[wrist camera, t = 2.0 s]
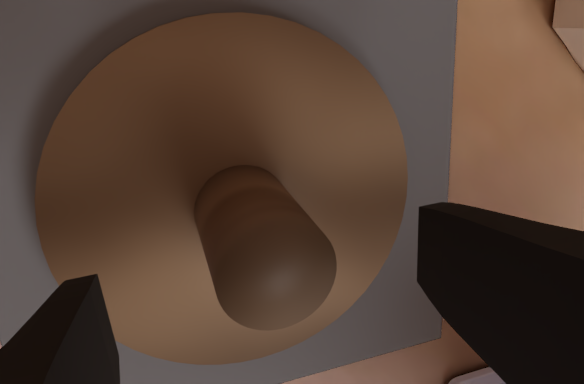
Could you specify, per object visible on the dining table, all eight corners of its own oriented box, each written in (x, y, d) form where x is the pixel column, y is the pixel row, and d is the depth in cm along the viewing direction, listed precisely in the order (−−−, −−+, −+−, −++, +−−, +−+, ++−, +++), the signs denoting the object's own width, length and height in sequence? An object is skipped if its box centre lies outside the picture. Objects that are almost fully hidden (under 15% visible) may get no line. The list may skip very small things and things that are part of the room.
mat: (435, 331, 20) (440, 338, 19) (44, 441, 16) (41, 450, 16) (453, -81, 14) (461, -84, 14) (-140, -55, 11) (-150, -57, 10)
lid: (397, 307, 18) (476, 395, 14) (92, 389, 16) (77, 528, 11) (396, -5, 14) (507, -12, 10) (-17, 34, 11) (-105, 47, 7)
